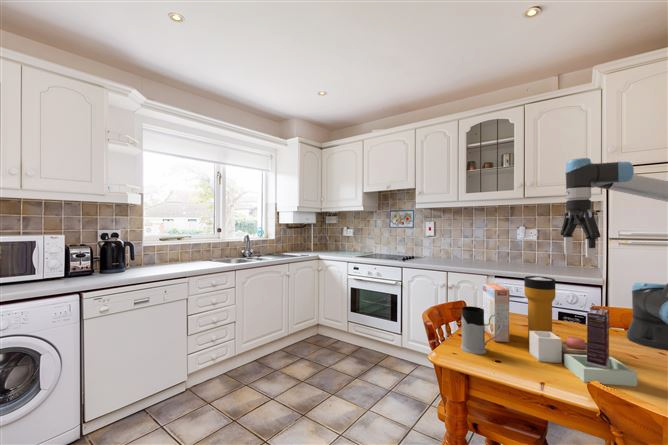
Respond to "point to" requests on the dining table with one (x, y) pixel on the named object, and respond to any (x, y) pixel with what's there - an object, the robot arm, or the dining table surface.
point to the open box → (545, 346)
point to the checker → (572, 350)
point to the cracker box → (496, 311)
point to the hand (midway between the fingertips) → (579, 255)
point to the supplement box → (598, 337)
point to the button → (575, 343)
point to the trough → (601, 371)
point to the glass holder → (474, 330)
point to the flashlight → (539, 302)
